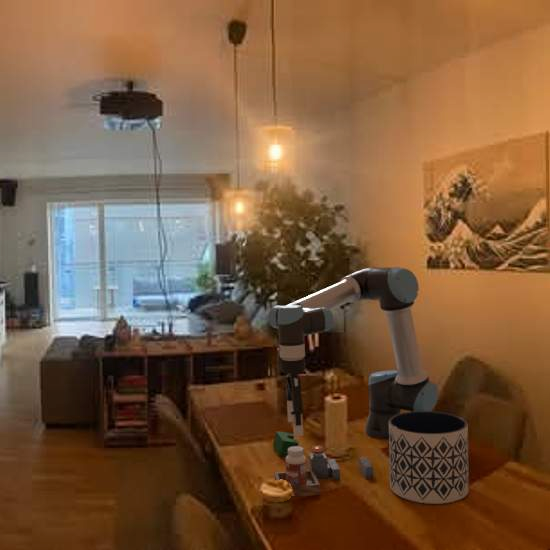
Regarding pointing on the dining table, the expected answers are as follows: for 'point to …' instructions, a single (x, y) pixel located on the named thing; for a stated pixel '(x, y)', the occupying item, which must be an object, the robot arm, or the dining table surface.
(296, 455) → the pill bottle
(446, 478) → the planter
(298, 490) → the tray
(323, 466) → the socket
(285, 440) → the clamp
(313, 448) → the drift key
